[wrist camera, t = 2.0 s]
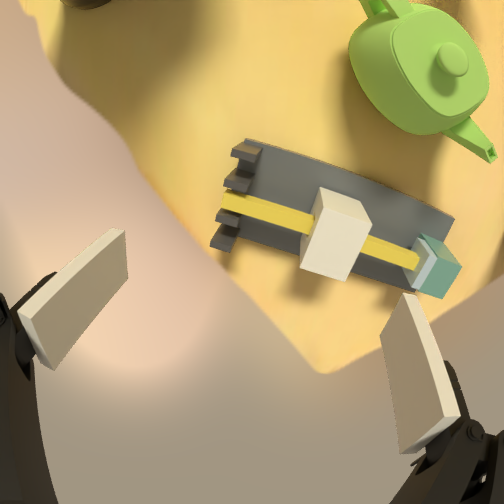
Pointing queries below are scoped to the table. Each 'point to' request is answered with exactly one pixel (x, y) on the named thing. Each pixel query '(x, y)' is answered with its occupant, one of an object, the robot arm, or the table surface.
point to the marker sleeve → (334, 235)
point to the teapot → (421, 71)
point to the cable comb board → (372, 195)
